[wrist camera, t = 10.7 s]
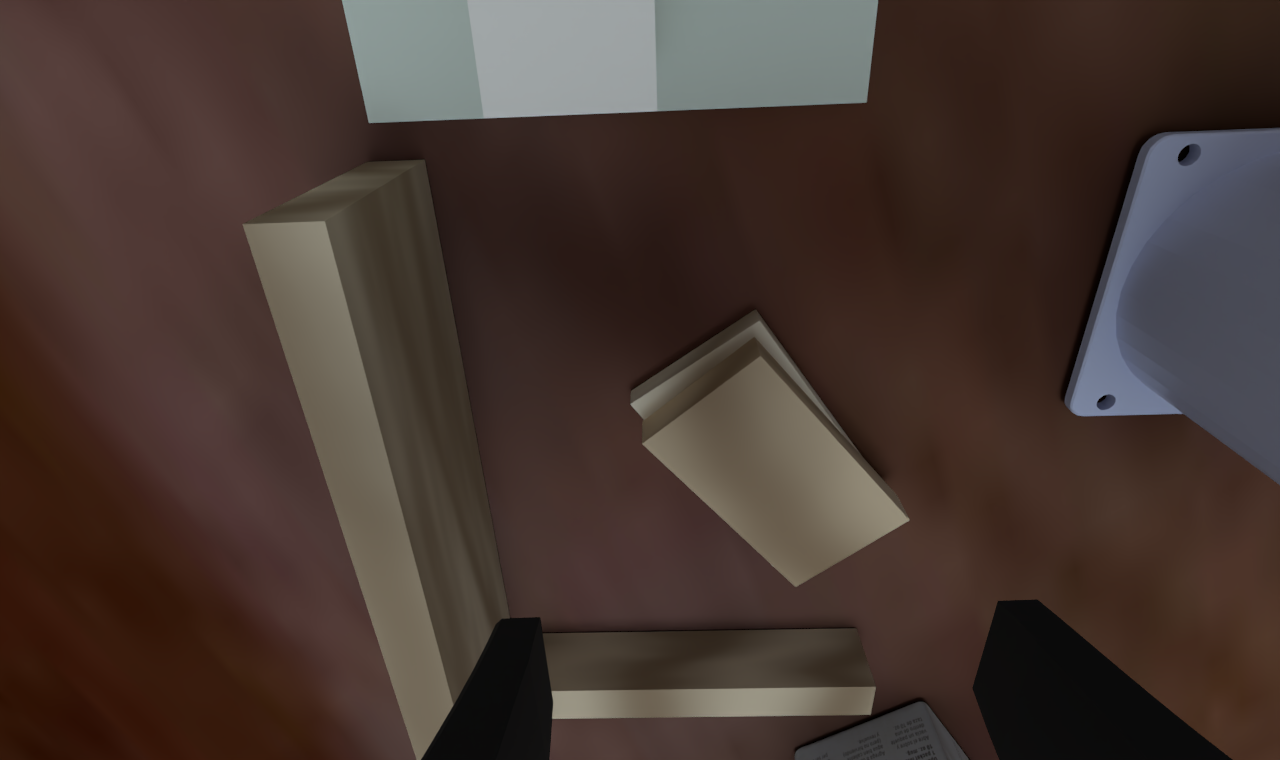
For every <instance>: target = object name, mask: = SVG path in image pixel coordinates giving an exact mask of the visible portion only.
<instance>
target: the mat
mask: <svg viewBox="0 0 1280 760" xmlns="http://www.w3.org/2000/svg"><path fill="white" fill-rule="evenodd" d="M342 2H343V7H344V12H345V16H346V21H347V25H348V30H349V34H350V39H351V44H352V48H353V53H354V57H355V62H356V66H357V71H358V75H359V80H360V85H361V89H362V94H363V98H364V103H365V107H366V112H367V117H368V121H369V123H384V122H408V121H432V120H457V119H481V118H484V116H483V109H482V102H481V95H480V88H479V81H478V74H477V66H476V59H475V52H474V45H473V38H472V31H471V24H470V17H469V10H468V3H467V0H342ZM877 6H878V0H655V38H656V77H657V111H676V110H700V109H725V108H749V107H773V106H798V105H822V104H846V103H867V95H868V86H869V77H870V68H871V59H872V50H873V42H874V33H875V24H876V15H877Z"/></svg>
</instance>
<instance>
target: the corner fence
mask: <svg viewBox="0 0 1280 760" xmlns="http://www.w3.org/2000/svg"><path fill="white" fill-rule="evenodd" d="M243 227H244V230H245V233H246V236H247V239H248V242H249V245H250V249H251V252H252V255H253V258H254V261H255V264H256V267H257V270H258V273H259V276H260V279H261V282H262V285H263V288H264V292H265V295H266V298H267V301H268V304H269V307H270V310H271V313H272V316H273V319H274V322H275V325H276V328H277V332H278V335H279V338H280V341H281V344H282V347H283V350H284V353H285V356H286V359H287V362H288V365H289V368H290V371H291V375H292V378H293V381H294V384H295V387H296V390H297V393H298V396H299V399H300V402H301V405H302V408H303V411H304V415H305V418H306V421H307V424H308V427H309V430H310V433H311V436H312V439H313V442H314V445H315V448H316V451H317V455H318V458H319V461H320V464H321V467H322V470H323V473H324V476H325V479H326V482H327V485H328V488H329V491H330V494H331V498H332V501H333V504H334V507H335V510H336V513H337V516H338V519H339V522H340V525H341V528H342V531H343V534H344V538H345V541H346V544H347V547H348V550H349V553H350V556H351V559H352V562H353V565H354V568H355V571H356V574H357V577H358V581H359V584H360V587H361V590H362V593H363V596H364V599H365V602H366V605H367V608H368V611H369V614H370V617H371V621H372V624H373V627H374V630H375V633H376V636H377V639H378V642H379V645H380V648H381V651H382V654H383V657H384V660H385V664H386V667H387V670H388V673H389V676H390V679H391V682H392V685H393V688H394V691H395V694H396V697H397V700H398V704H399V707H400V710H401V713H402V716H403V719H404V722H405V725H406V728H407V731H408V734H409V737H410V740H411V744H412V747H413V750H414V753H415V756H416V759H417V760H421V759H422V757H423V755H424V754H425V752H426V751H427V749H428V747H429V746H430V744H431V742H432V741H433V739H434V737H435V736H436V734H437V732H438V731H439V729H440V727H441V725H442V724H443V722H444V720H445V719H446V717H447V715H448V714H449V712H450V710H451V709H452V707H453V705H454V704H455V702H456V700H457V698H458V696H459V695H460V693H461V691H462V689H463V687H464V686H465V684H466V682H467V680H468V678H469V677H470V675H471V673H472V671H473V669H474V667H475V665H476V663H477V661H478V660H479V658H480V656H481V654H482V652H483V650H484V648H485V646H486V644H487V642H488V640H489V637H490V635H491V633H492V631H493V629H494V627H495V625H496V623H498V622H499V621H500V620H501V619H507V618H510V615H509V610H508V604H507V599H506V593H505V588H504V583H503V577H502V572H501V567H500V561H499V556H498V550H497V545H496V540H495V534H494V529H493V524H492V518H491V513H490V507H489V502H488V497H487V491H486V486H485V481H484V475H483V470H482V464H481V459H480V454H479V448H478V443H477V438H476V432H475V427H474V421H473V416H472V411H471V405H470V400H469V394H468V389H467V384H466V378H465V373H464V368H463V362H462V357H461V351H460V346H459V341H458V335H457V330H456V325H455V319H454V314H453V308H452V303H451V298H450V292H449V287H448V282H447V276H446V271H445V265H444V260H443V255H442V249H441V244H440V239H439V233H438V228H437V222H436V217H435V212H434V206H433V201H432V196H431V190H430V185H429V179H428V174H427V169H426V163H425V160H400V161H375V162H366V163H364V164H362V165H360V166H358V167H356V168H354V169H352V170H350V171H348V172H346V173H344V174H342V175H340V176H338V177H336V178H334V179H332V180H330V181H328V182H326V183H324V184H322V185H320V186H318V187H316V188H314V189H312V190H310V191H308V192H306V193H304V194H302V195H300V196H298V197H296V198H294V199H292V200H290V201H288V202H286V203H284V204H282V205H280V206H278V207H276V208H274V209H272V210H270V211H268V212H266V213H264V214H262V215H260V216H258V217H256V218H254V219H252V220H250V221H248V222H246V223H244V224H243ZM543 639H544V646H545V652H546V659H547V665H548V672H549V678H550V685H551V691H552V698H553V713H552V719H568V718H649V717H730V716H812V715H871V710H872V705H873V700H874V694H875V689H876V685H875V682H874V679H873V676H872V673H871V670H870V667H869V664H868V662H867V659H866V656H865V653H864V650H863V647H862V644H861V641H860V638H859V635H858V632H857V629H856V628H842V629H781V630H720V631H659V632H598V633H543Z"/></svg>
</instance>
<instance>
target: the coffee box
mask: <svg viewBox="0 0 1280 760" xmlns="http://www.w3.org/2000/svg"><path fill="white" fill-rule="evenodd" d="M795 760H969V759H968V757H967V756H966V755H965V753H964V752H963V751H962V749H961V748H960V747H959V745H958V744H957V743H956V741H955V740H954V739H953V738H952V736H951V735H950V734H949V732H948V731H947V730H946V728H945V727H944V726H943V725H942V723H941V722H940V721H939V719H938V718H937V717H936V715H935V714H934V713H933V711H932V710H931V709H930V707H929V706H928V705H927V704H926V703H925V702H916V703H913V704H911V705H908V706H906V707H903V708H901V709H898V710H896V711H893V712H891V713H888V714H886V715H883V716H881V717H878V718H876V719H873V720H871V721H868V722H866V723H863V724H860V725H858V726H855V727H853V728H850V729H848V730H845V731H843V732H840V733H838V734H835V735H833V736H830V737H828V738H825V739H823V740H820V741H818V742H815V743H812V744H809V745H807V746H804V747H801V748H799V749H798V750H797V751H796V752H795Z"/></svg>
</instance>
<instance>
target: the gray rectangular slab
mask: <svg viewBox="0 0 1280 760" xmlns="http://www.w3.org/2000/svg"><path fill="white" fill-rule="evenodd" d="M467 3H468V10H469V17H470V24H471V31H472V38H473V45H474V52H475V59H476V66H477V74H478V81H479V88H480V95H481V102H482V109H483V116H484V118H507V117H531V116H555V115H580V114H604V113H628V112H653V111H657V77H656V38H655V0H467Z"/></svg>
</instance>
